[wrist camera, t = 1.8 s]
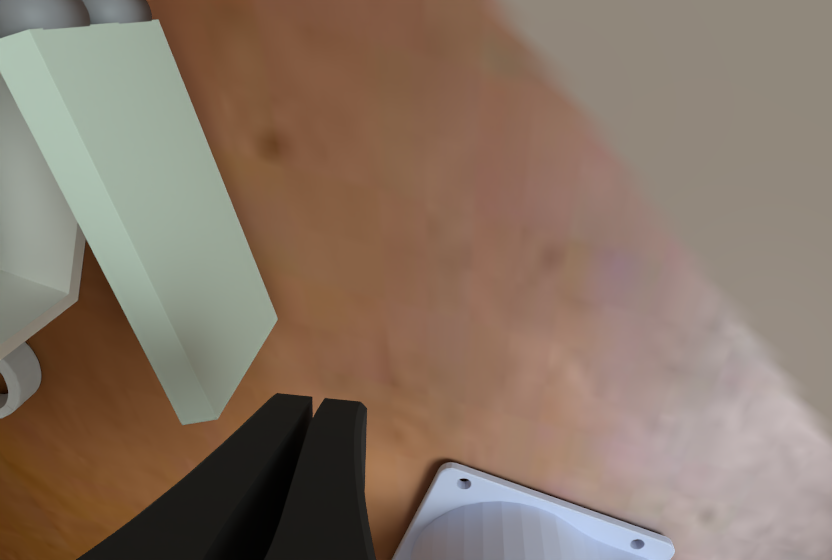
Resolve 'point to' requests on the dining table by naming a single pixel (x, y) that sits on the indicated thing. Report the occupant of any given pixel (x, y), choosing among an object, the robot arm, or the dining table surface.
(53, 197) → the cabinet
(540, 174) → the dining table surface
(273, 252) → the dining table surface
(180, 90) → the cabinet door
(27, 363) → the bracket
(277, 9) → the dining table surface
